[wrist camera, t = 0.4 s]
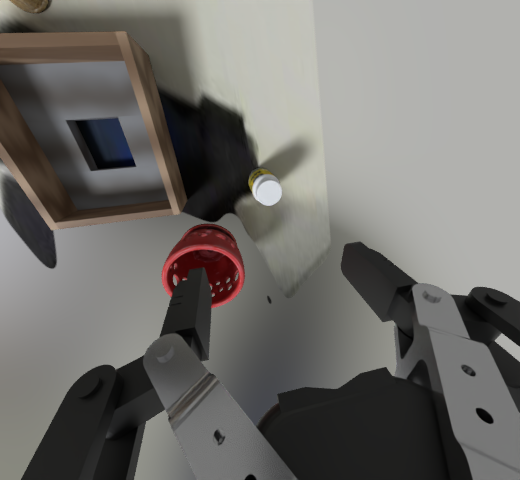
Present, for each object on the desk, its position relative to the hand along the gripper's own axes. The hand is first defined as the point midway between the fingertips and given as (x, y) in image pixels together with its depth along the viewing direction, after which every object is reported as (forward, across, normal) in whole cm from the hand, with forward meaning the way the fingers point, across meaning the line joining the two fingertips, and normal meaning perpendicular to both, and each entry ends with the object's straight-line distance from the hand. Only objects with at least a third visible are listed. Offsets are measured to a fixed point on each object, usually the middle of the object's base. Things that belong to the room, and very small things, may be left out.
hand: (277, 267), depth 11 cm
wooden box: (+28, +19, -6) cm, 34 cm away
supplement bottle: (+28, -4, +2) cm, 29 cm away
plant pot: (+28, +8, +14) cm, 32 cm away
